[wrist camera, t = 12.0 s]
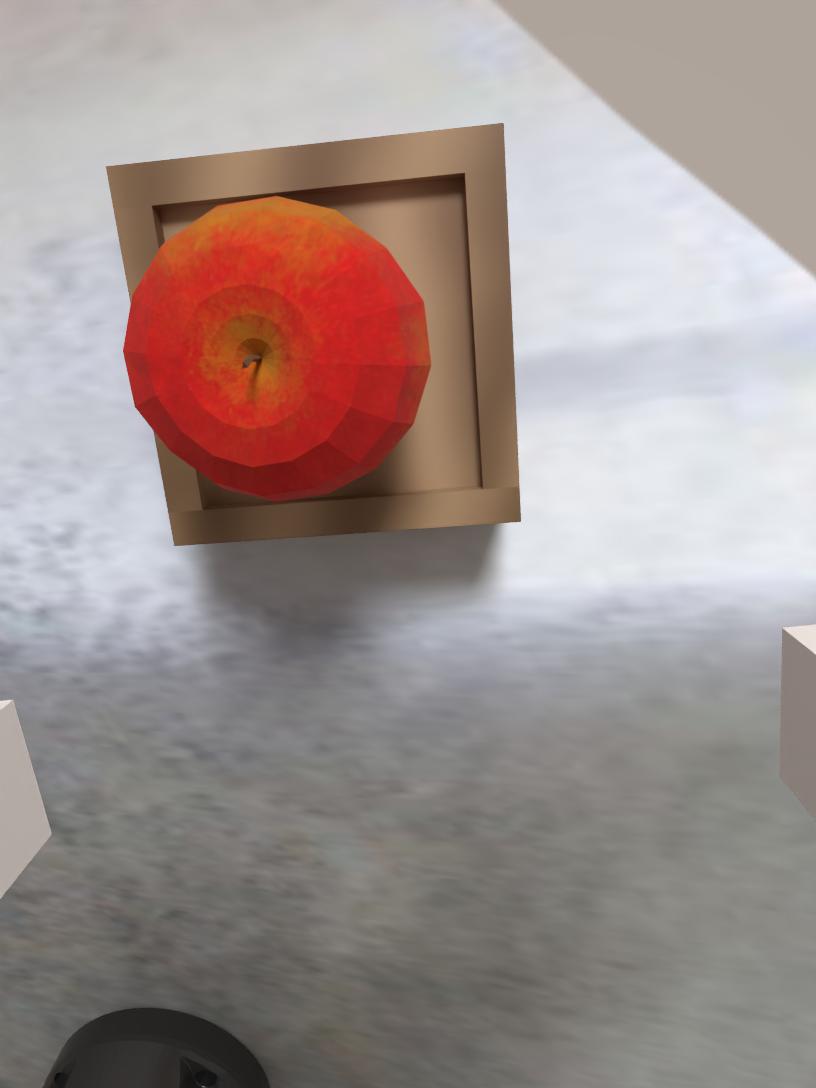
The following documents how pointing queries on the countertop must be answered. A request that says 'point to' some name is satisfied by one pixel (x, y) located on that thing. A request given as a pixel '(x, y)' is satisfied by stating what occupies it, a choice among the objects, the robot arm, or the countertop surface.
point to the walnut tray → (450, 306)
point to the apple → (277, 348)
